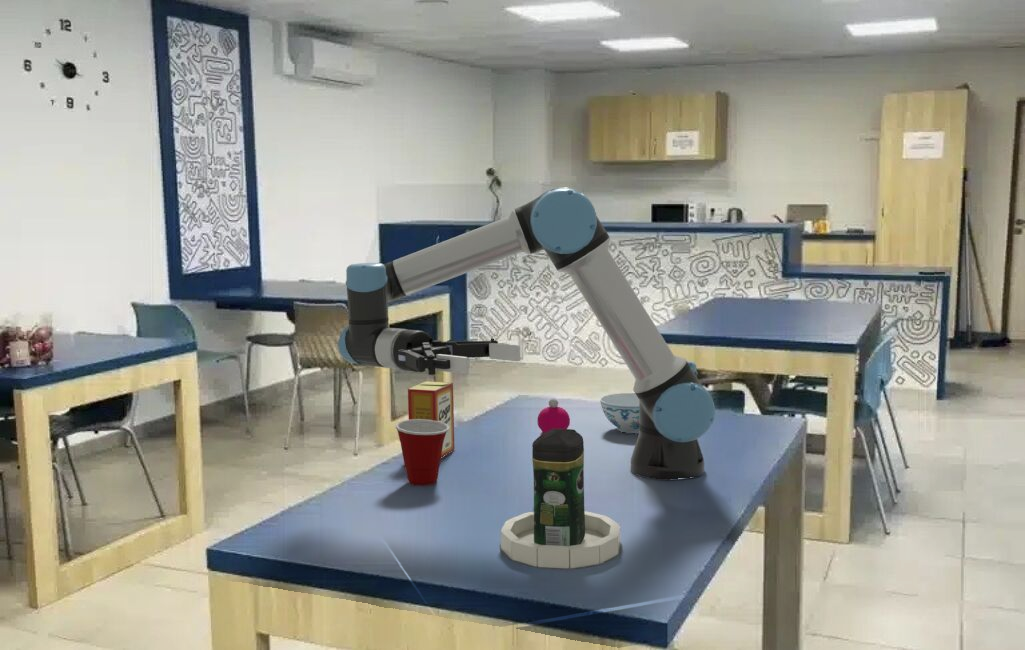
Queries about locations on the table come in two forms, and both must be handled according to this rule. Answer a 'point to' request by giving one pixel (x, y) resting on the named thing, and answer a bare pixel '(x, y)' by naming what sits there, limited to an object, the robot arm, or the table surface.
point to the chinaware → (622, 411)
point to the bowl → (592, 550)
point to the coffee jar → (559, 488)
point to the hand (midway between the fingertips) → (493, 359)
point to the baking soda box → (434, 407)
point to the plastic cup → (422, 449)
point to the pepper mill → (553, 417)
